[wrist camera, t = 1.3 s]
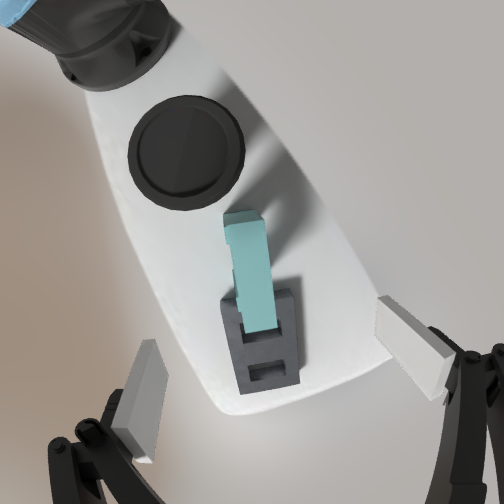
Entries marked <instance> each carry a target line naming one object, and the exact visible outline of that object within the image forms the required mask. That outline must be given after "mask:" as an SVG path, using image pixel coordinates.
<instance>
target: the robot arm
mask: <svg viewBox="0 0 504 504" xmlns="http://www.w3.org/2000/svg"><path fill="white" fill-rule="evenodd" d="M0 25H1V26H2V27H6V28H8V29H10V30H12V31H14V32H16V33H18V34H19V35H21V36H23V37H25V38H27V39H29V40H30V41H32V42H34V43H36V44H38V45H40V46H41V47H43V48H45V49H47V50H48V51H50V52H52V53H53V54H55V56H56V58H57V61H58V63H59V65H60V67H61V69H62V72H63V73H64V75H65V76H66V78H67V79H68V80H69V81H71V82H72V83H73V84H75V85H77V86H79V87H81V88H83V89H85V90H89V91H95V92H102V91H109V90H114V89H117V88H120V87H122V86H125V85H127V84H129V83H131V82H133V81H134V80H136V79H138V78H139V77H141V76H142V75H143V74H145V73H146V72H147V71H148V70H149V69H150V68H152V67H153V65H154V64H155V63H156V62H157V61H158V60H159V59H160V57H161V56H162V54H163V53H164V51H165V50H166V48H167V46H168V43H169V41H170V37H171V32H172V24H171V19H170V16H169V13H168V10H167V8H166V7H165V5H164V4H163V3H162V1H161V0H0ZM374 336H375V337H376V338H377V339H378V340H379V341H380V342H381V344H382V345H383V346H384V347H385V348H386V349H387V350H388V352H389V353H390V354H391V355H392V356H393V357H394V358H395V360H396V361H397V362H398V363H399V364H400V365H401V367H402V368H403V369H404V370H405V371H406V372H407V374H408V375H409V376H410V377H411V378H412V379H413V381H414V382H415V383H416V384H417V385H418V387H419V388H420V389H421V390H422V391H423V393H424V394H425V395H426V396H427V398H428V399H429V400H430V401H431V400H433V399H435V398H437V397H439V396H440V395H441V394H442V392H443V390H444V387H446V388H447V389H448V390H449V391H448V393H447V396H446V398H445V400H444V403H443V405H445V403H446V408H445V417H444V423H443V431H442V437H441V443H440V447H439V452H438V457H437V461H436V466H435V470H434V474H433V478H432V482H431V485H430V489H429V492H428V495H427V499H426V502H425V504H484V503H485V498H486V492H487V485H486V484H485V483H483V482H482V477H483V470H484V461H485V450H486V431H487V425H488V429H489V434H490V438H491V443H492V448H493V454H494V460H495V466H496V474H497V482H498V491H499V502H500V504H504V344H502V343H499V344H495V345H494V346H493V349H492V352H491V353H489V354H485V355H481V354H480V353H478V352H475V351H466V352H465V351H464V350H463V349H461V348H460V347H459V346H458V345H457V344H456V343H454V342H453V341H452V340H451V339H449V338H448V337H447V336H446V335H444V333H442V332H441V331H440V330H438V329H436V328H434V327H432V326H430V327H426V326H425V325H423V324H422V323H421V322H420V321H419V320H417V319H416V318H415V317H414V316H413V315H411V314H410V313H409V312H408V311H407V310H405V309H404V308H403V307H402V306H400V305H399V304H398V303H397V302H395V301H394V300H393V299H392V298H391V297H389V296H388V295H386V296H382V297H378V298H377V309H376V322H375V334H374ZM167 381H168V372H167V370H166V367H165V365H164V362H163V360H162V357H161V355H160V352H159V349H158V346H157V343H156V341H155V339H150V340H143V341H142V343H141V346H140V348H139V351H138V353H137V356H136V358H135V361H134V363H133V366H132V369H131V372H130V374H129V377H128V380H127V382H126V385H125V388H124V389H116V390H115V391H114V392H113V393H112V394H111V395H110V397H109V399H108V402H107V405H106V407H105V411H104V412H103V415H102V418H101V421H100V422H99V421H98V420H96V419H94V418H88V419H84V420H82V421H81V422H79V423H78V424H77V426H76V428H75V435H76V436H77V438H78V439H79V440H80V441H81V442H77V443H70V441H68V440H67V438H64V437H57V438H55V439H53V440H52V441H51V442H50V443H49V445H48V464H49V475H50V484H51V492H52V499H53V504H107V502H106V499H105V496H104V492H103V489H102V485H101V482H100V479H103V480H104V482H105V484H106V485H107V487H108V488H109V490H110V492H111V493H112V495H113V496H114V498H115V499H116V501H117V502H118V504H165V503H164V501H162V499H161V498H160V497H159V496H158V495H157V494H156V492H155V491H154V490H153V489H152V488H151V487H150V485H149V484H148V483H147V482H146V480H145V479H144V478H143V477H142V475H141V474H140V473H139V472H138V470H137V469H136V468H135V466H134V465H133V464H132V458H133V457H134V458H135V459H136V461H137V462H139V463H153V461H154V454H155V448H156V442H157V435H158V430H159V423H160V418H161V412H162V407H163V402H164V396H165V391H166V386H167Z"/></svg>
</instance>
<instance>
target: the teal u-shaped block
mask: <svg viewBox="0 0 504 504" xmlns="http://www.w3.org/2000/svg"><path fill="white" fill-rule="evenodd" d="M223 222H224V232H225V238H226V244H230V249H231V255H232V261H233V267H234V270H232V271H233V279H234V286H235V294H236V301H237V306H238V312H241V313H242V318H243V324H244V329H245V333H251V332H256V331H262V330H267V329H273V328H278V327H277V318H276V310H275V301H274V293H273V285H272V276H271V268H270V260H269V252H268V245H267V237H266V229H265V222H264V219H263V218H262V217H261V215H260V214H257V213H256V212H255V211H254V210H247V211H241V212H235V213H228V214H223Z"/></svg>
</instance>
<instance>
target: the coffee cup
mask: <svg viewBox="0 0 504 504" xmlns="http://www.w3.org/2000/svg"><path fill="white" fill-rule="evenodd" d="M245 153H246V149H245V142H244V136H243V133H242V131H241V129H240V126H239V124H238V122H237V120H236V119H235V118H234V116H233V115H232V114H231V113H230V112H229V111H228V109H226V108H225V107H223V106H222V105H221V104H219V103H218V102H216V101H214V100H211V99H208V98H205V97H202V96H195V95H182V96H177V97H172V98H169V99H167V100H165V101H163V102H161V103H159V104H157V105H155V106H154V107H153V108H151V109H150V110H149V111H148V112H147V113H145V114H144V115H143V117H142V118H141V119H140V121H139V122H138V124H137V125H136V126H135V128H134V131H133V133H132V136H131V138H130V141H129V148H128V156H127V157H128V164H129V171H130V173H131V176H132V178H133V180H134V183H135V185H136V186H137V187H138V189H139V190H140V191H141V192H142V193H143V195H144V196H145V197H147V198H148V199H149V200H151V201H152V202H154V203H155V204H157V205H159V206H162V207H165V208H167V209H170V210H180V211H189V210H195V209H201V208H204V207H206V206H209V205H211V204H213V203H215V202H217V201H218V200H220V199H221V198H222V197H223V196H225V195H226V194H227V193H228V192H229V191H230V190H231V189H232V187H233V186H234V185H235V183H236V182H237V181H238V179H239V176H240V174H241V171H242V169H243V167H244V161H245Z"/></svg>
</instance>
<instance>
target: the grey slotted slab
mask: <svg viewBox="0 0 504 504" xmlns="http://www.w3.org/2000/svg"><path fill="white" fill-rule="evenodd" d="M273 293H274V301H275V310H276V317H278V323H279V327H278V328H273V329H267V330H262V331H256V332H251V333H244V334H242V333H241V328H240V323H243V318H242V313H241V312H238V306H237V301H236V298H232V299H226V300H220V309H221V314H222V319H223V323H224V328H225V332H226V337H227V341H228V346H229V350H230V354H231V358H232V363H233V367H234V371H235V375H236V379H237V383H238V387H239V391H240V395H243V394H249V393H255V392H261V391H266V390H272V389H277V388H282V387H287V386H291V385H296V384H300V377H299V360H298V345H297V331H296V318H295V306H294V296H293V294H292V293H291V291H290V289H283V290H278V291H273ZM281 359H282V360H283V365H280V366H274V367H269V368H264V369H258V370H253V371H249V369H248V366H249V365H255V364H260V363H266V362H271V361H276V360H281Z"/></svg>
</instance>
